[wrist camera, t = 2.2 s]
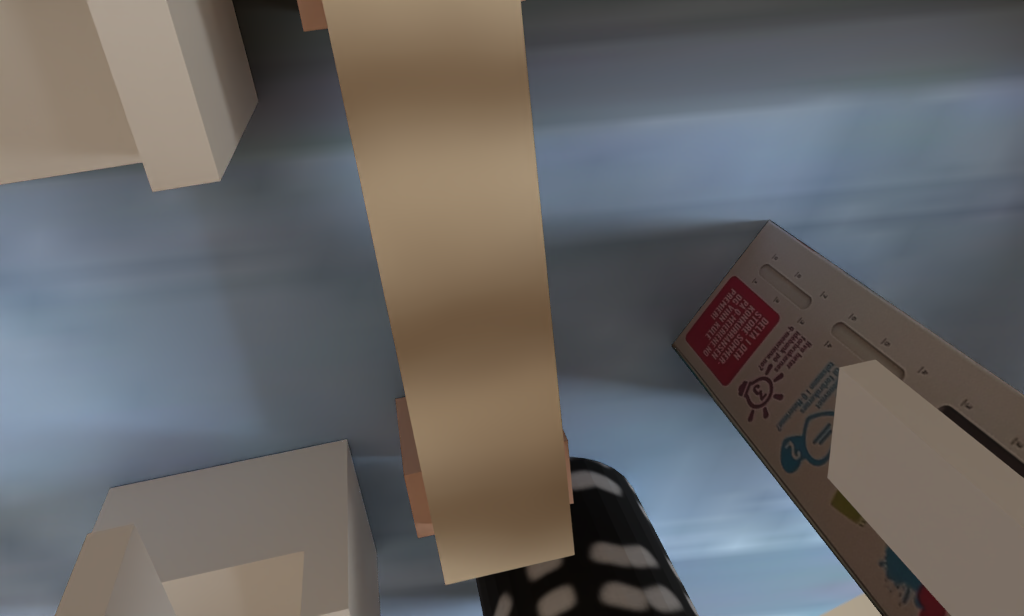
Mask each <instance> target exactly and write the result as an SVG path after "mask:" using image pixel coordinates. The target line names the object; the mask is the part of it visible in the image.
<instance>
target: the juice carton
mask: <svg viewBox="0 0 1024 616" xmlns="http://www.w3.org/2000/svg"><path fill="white" fill-rule="evenodd" d="M672 347H673V349H674V350H675V351H676V353H677V354H678V355H679V356H680V358H681V359H682V360H683V361H684V363H685V364H686V365H687V367H688V368H689V369H690V370H691V372H692V373H693V374H694V376H695V377H696V378H697V379H698V381H699V382H700V383H701V385H702V386H703V387H704V388H705V390H706V391H707V392H708V394H709V395H710V396H711V397H712V399H713V400H714V401H715V402H716V404H717V405H718V406H719V408H720V409H721V410H722V411H723V413H724V414H725V415H726V417H727V418H728V419H729V420H730V422H731V423H732V424H733V426H734V427H735V428H736V429H737V431H738V432H739V433H740V434H741V436H742V437H743V438H744V440H745V441H746V442H747V443H748V445H749V446H750V447H751V449H752V450H753V451H754V452H755V454H756V455H757V456H758V458H759V459H760V460H761V461H762V463H763V464H764V465H765V466H766V468H767V469H768V470H769V472H770V473H771V474H772V475H773V477H774V478H775V479H776V481H777V482H778V483H779V484H780V486H781V487H782V488H783V490H784V491H785V492H786V493H787V495H788V496H789V497H790V498H791V500H792V501H793V502H794V504H795V505H796V506H797V507H798V509H799V510H800V511H801V513H802V514H803V515H804V516H805V518H806V519H807V520H808V522H809V523H810V524H811V525H812V527H813V528H814V529H815V530H816V532H817V533H818V534H819V536H820V537H821V538H822V539H823V541H824V542H825V543H826V545H827V546H828V547H829V548H830V550H831V551H832V552H833V554H834V555H835V556H836V557H837V559H838V560H839V561H840V562H841V564H842V565H843V566H844V568H845V569H846V570H847V571H848V573H849V574H850V575H851V577H852V578H853V579H854V580H855V582H856V583H857V584H858V586H859V587H860V588H861V589H862V591H863V592H864V593H865V594H866V596H867V597H868V598H869V600H870V601H871V602H872V603H873V605H874V606H875V607H876V608H877V610H878V611H879V612H880V614H881V615H882V616H951V615H950V614H949V613H948V612H947V611H946V610H945V608H944V607H943V606H942V605H941V604H940V603H939V602H938V601H937V600H936V598H935V597H934V596H933V595H932V594H931V593H930V592H929V591H928V589H927V588H926V587H925V586H924V585H923V584H922V583H921V582H920V581H919V579H918V578H917V577H916V576H915V575H914V574H913V573H912V572H911V570H910V569H909V568H908V567H907V566H906V565H905V564H904V563H903V562H902V560H901V559H900V558H899V557H898V556H897V555H896V554H895V553H894V552H893V550H892V549H891V548H890V547H889V546H888V545H887V544H886V543H885V541H884V540H883V539H882V538H881V537H880V536H879V535H878V534H877V533H876V531H875V530H874V529H873V528H872V527H871V526H870V525H869V524H868V522H867V521H866V520H865V519H864V518H863V517H862V516H861V515H860V514H859V512H858V511H857V510H856V509H855V508H854V507H853V506H852V505H851V504H850V502H849V501H848V500H847V499H846V498H845V497H844V496H843V495H842V493H841V492H840V491H839V490H838V489H837V488H836V487H835V486H834V485H833V483H832V482H831V481H830V480H829V479H828V478H827V477H828V468H829V459H830V449H831V440H832V431H833V422H834V413H835V404H836V395H837V385H838V376H839V367H844V366H848V365H853V364H857V363H862V362H866V361H871V360H877V361H878V362H879V363H880V364H882V365H883V366H884V367H885V368H887V369H888V370H889V371H890V372H892V373H893V374H894V375H895V376H897V377H898V378H899V379H900V380H902V381H903V382H904V383H905V384H907V385H908V386H909V387H910V388H912V389H913V390H914V391H915V392H917V393H918V394H919V395H920V396H922V397H923V398H924V399H925V400H927V401H928V402H929V403H930V404H932V405H933V406H934V407H935V408H937V409H938V410H939V411H940V412H942V413H943V414H944V415H945V416H947V417H948V418H949V419H950V420H952V421H953V422H954V423H955V424H957V425H958V426H959V427H960V428H962V429H963V430H964V431H965V432H967V433H968V434H969V435H970V436H972V437H973V438H974V439H975V440H977V441H978V442H979V443H980V444H982V445H983V446H984V447H985V448H987V449H988V450H989V451H990V452H992V453H993V454H994V455H995V456H997V457H998V458H999V459H1000V460H1002V461H1003V462H1004V463H1005V464H1007V465H1008V466H1009V467H1010V468H1012V469H1013V470H1014V471H1015V472H1017V473H1018V474H1019V475H1020V476H1022V477H1023V478H1024V395H1023V394H1022V393H1020V392H1019V391H1017V390H1016V389H1014V388H1013V387H1012V386H1010V385H1009V384H1007V383H1006V382H1004V381H1003V380H1001V379H1000V378H998V377H997V376H996V375H994V374H993V373H991V372H990V371H988V370H987V369H985V368H984V367H983V366H981V365H980V364H978V363H977V362H975V361H974V360H972V359H971V358H969V357H968V356H967V355H965V354H964V353H962V352H961V351H959V350H958V349H956V348H955V347H954V346H952V345H951V344H949V343H948V342H946V341H945V340H943V339H942V338H940V337H939V336H938V335H936V334H935V333H933V332H932V331H930V330H929V329H927V328H926V327H925V326H923V325H922V324H920V323H919V322H917V321H916V320H914V319H913V318H911V317H910V316H909V315H907V314H906V313H904V312H903V311H901V310H900V309H898V308H897V307H896V306H894V305H893V304H891V303H890V302H888V301H887V300H885V299H884V298H882V297H881V296H880V295H878V294H877V293H875V292H874V291H872V290H871V289H869V288H868V287H867V286H865V285H864V284H862V283H861V282H859V281H858V280H856V279H855V278H853V277H852V276H851V275H849V274H848V273H846V272H845V271H843V270H842V269H840V268H839V267H838V266H836V265H835V264H833V263H832V262H830V261H829V260H827V259H826V258H824V257H823V256H822V255H820V254H819V253H817V252H816V251H814V250H813V249H811V248H810V247H809V246H807V245H806V244H804V243H803V242H801V241H800V240H798V239H797V238H795V237H794V236H793V235H791V234H790V233H788V232H787V231H785V230H784V229H782V228H781V227H779V226H778V225H777V224H775V223H774V222H772V221H771V220H769V221H768V222H767V223H766V225H765V226H764V227H763V229H762V230H761V231H760V232H759V234H758V235H757V236H756V238H755V239H754V240H753V241H752V243H751V244H750V245H749V247H748V248H747V249H746V250H745V252H744V253H743V254H742V256H741V257H740V258H739V259H738V261H737V262H736V263H735V265H734V266H733V267H732V268H731V270H730V271H729V272H728V274H727V275H726V276H725V277H724V279H723V280H722V281H721V283H720V284H719V285H718V286H717V288H716V289H715V290H714V292H713V293H712V294H711V295H710V297H709V298H708V299H707V301H706V302H705V303H704V304H703V306H702V307H701V308H700V310H699V311H698V312H697V313H696V315H695V316H694V317H693V319H692V320H691V321H690V322H689V324H688V325H687V326H686V328H685V329H684V330H683V331H682V333H681V334H680V335H679V337H678V338H677V339H676V340H675V342H674V343H673V344H672ZM675 348H676V349H675Z"/></svg>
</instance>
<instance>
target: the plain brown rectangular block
mask: <svg viewBox="0 0 1024 616" xmlns="http://www.w3.org/2000/svg"><path fill="white" fill-rule="evenodd" d="M521 1H526V0H521ZM297 3H298V8H299V12H300V17H301V21H302V25H303V30H304V32H305V31H312V30H319V29H326V28H328V26H327V21H326V16H325V12H324V7H323V2H322V0H297ZM395 401H396V410H397V419H398V428H399V437H400V446H401V454H402V463H403V472H404V478H405V483H406V487H407V492H408V496H409V501H410V505H411V510H412V514H413V518H414V523H415V527H416V532H417V536H418V538H422V537H426V536H431V535H435V534H434V529H433V524H432V519H431V515H430V510H429V505H428V500H427V496H426V491H425V486H424V481H423V477H422V472H421V467H420V462H419V458H418V453H417V448H416V444H415V439H414V434H413V429H412V425H411V420H410V415H409V410H408V406H407V401H406V397H402V398H397V399H395ZM562 430H563V429H562ZM563 440H564V451H565V461H566V471H567V481H568V491H569V502H570V504H572V503H574V502H573V491H572V481H571V470H570V459H569V449H568V440H567V438H566V435H565V433H564V431H563Z"/></svg>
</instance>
